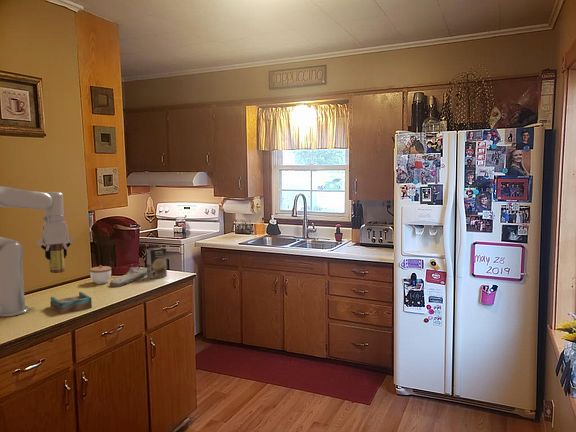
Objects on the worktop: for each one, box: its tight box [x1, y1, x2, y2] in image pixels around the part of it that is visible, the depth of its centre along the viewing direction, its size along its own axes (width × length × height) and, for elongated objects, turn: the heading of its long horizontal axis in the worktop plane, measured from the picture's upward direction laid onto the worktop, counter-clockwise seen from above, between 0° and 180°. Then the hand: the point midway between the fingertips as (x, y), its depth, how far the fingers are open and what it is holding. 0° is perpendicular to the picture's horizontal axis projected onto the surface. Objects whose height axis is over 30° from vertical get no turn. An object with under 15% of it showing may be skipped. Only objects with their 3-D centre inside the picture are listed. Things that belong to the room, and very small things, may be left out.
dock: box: [50, 291, 93, 315], centre depth 205 cm, size 13×14×4 cm
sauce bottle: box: [48, 244, 66, 274], centre depth 212 cm, size 7×6×20 cm
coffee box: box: [146, 246, 168, 279], centre depth 260 cm, size 9×6×16 cm
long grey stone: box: [109, 266, 147, 288], centre depth 256 cm, size 35×5×10 cm
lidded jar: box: [89, 264, 112, 285], centre depth 248 cm, size 11×11×9 cm
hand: (56, 258), depth 212 cm, fingers closed on sauce bottle, 6 cm apart
